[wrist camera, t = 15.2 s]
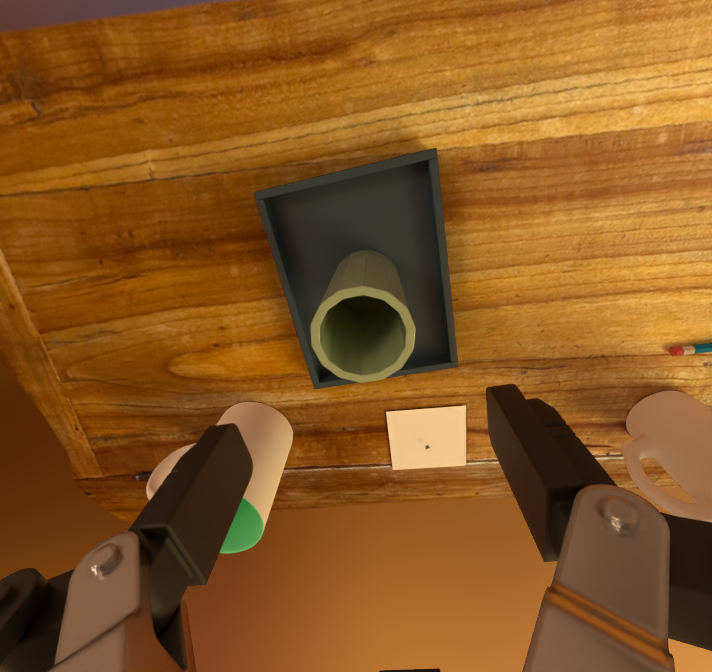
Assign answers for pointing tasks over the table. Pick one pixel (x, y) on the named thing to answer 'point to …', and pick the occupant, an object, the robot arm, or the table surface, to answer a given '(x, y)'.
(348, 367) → the cup
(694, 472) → the mug
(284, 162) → the table surface
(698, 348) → the pencil
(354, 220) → the tray
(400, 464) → the coaster
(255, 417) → the mug
